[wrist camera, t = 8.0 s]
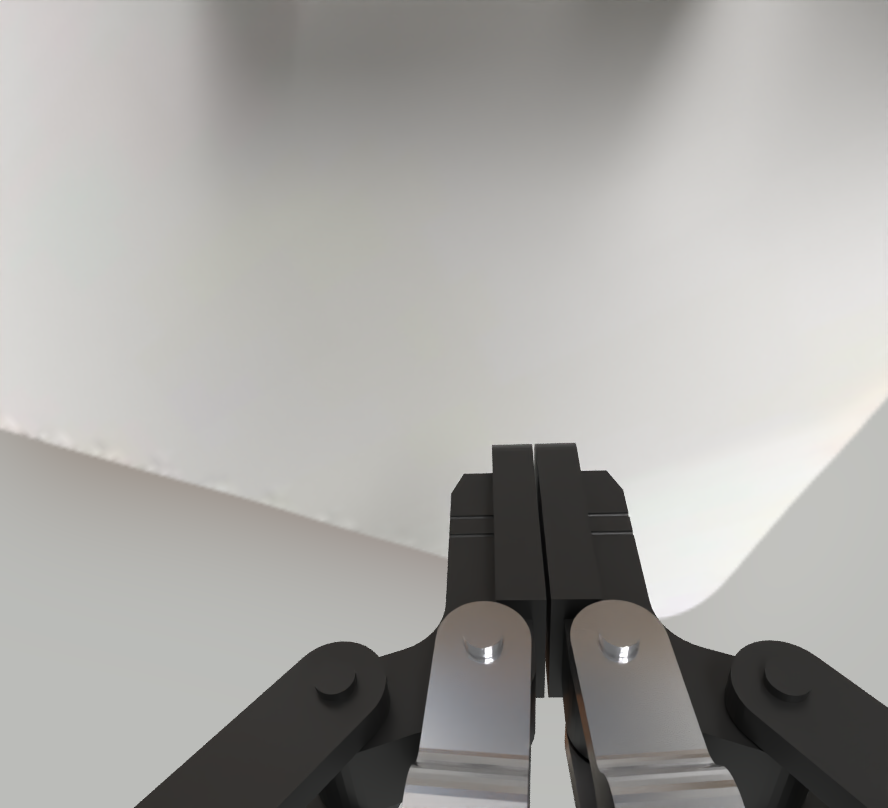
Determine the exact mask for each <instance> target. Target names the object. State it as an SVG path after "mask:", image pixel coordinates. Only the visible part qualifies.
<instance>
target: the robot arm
mask: <svg viewBox="0 0 888 808" xmlns="http://www.w3.org/2000/svg"><path fill="white" fill-rule="evenodd" d="M492 462H493V473H483V474H464V475H463V476H462V478H461V479H460V481H459V482H458V484H457V486H456V487H455V489H454V490H453V492H452V493H451V511H450V532H449V536H450V538H449V552H448V573H447V594H446V608H445V612H444V615H443V618H442V620H441V622H440V624H439V625H438V627H437V628H436V629H435V630H434V632H433V633H431V635H429V636H428V637H427V638H426V639H424V640H423V641H422V642H420V643H418V644H416V645H415V646H412V647H409V648H407V649H404V650H401V651H397V652H394V653H391V654H388V655H384V656H381V657H378V655H377V654H376V653H375V652H373V651H372V650H371V649H369V648H367V647H366V646H364V645H361V644H358V643H354V642H334V643H330V644H326V645H323V646H321V647H319V648H317V649H315V650H313V651H311V652H310V653H309V654H307V655H306V656H305V657H303V658H302V659H301V660H300V661H299V662H298V663H297V664H296V665H294V666H293V667H292V668H291V669H290V670H289V671H288V672H287V673H285V674H284V675H283V676H282V677H281V678H280V679H279V680H277V681H276V682H275V683H274V684H273V685H272V686H271V687H270V688H269V689H267V690H266V691H265V692H264V693H263V694H262V695H260V696H259V697H258V698H257V699H256V700H255V701H254V702H253V703H252V704H250V705H249V706H248V707H247V708H246V709H245V710H244V711H242V712H241V713H240V714H239V715H238V716H237V717H236V718H235V719H233V720H232V721H231V722H230V723H229V724H228V725H227V726H226V727H224V728H223V729H222V730H221V731H220V732H219V733H218V734H217V735H216V736H214V737H213V738H212V739H211V740H210V741H209V742H207V743H206V744H205V745H204V746H203V747H202V748H201V749H200V750H198V751H197V752H196V753H195V754H194V755H193V756H192V757H191V758H189V759H188V760H187V761H186V762H185V763H184V764H183V765H182V766H180V767H179V768H178V769H177V770H176V771H175V772H174V773H173V774H171V775H170V776H169V777H168V778H167V779H166V780H165V781H164V782H162V783H161V784H160V785H159V786H158V787H157V788H156V789H155V790H153V791H152V792H151V793H150V794H149V795H148V796H147V797H145V798H144V799H143V800H142V801H141V802H140V803H139V804H138V805H137V806H136V807H134V808H398V807H399V805H400V803H402V802H403V803H402V808H530V767H531V764H530V763H531V744H532V742H533V740H534V735H535V701H536V698H544V685H545V662H546V673H547V685H548V697H563V702H564V713H565V722H566V724H565V750H566V756H567V761H568V767H569V772H570V778H571V784H572V789H573V795H574V801H575V806H576V808H888V707H886V706H885V705H883V704H882V703H881V702H879V701H878V700H876V699H875V698H874V697H872V696H871V695H869V694H868V693H867V692H865V691H864V690H862V689H861V688H860V687H858V686H857V685H855V684H854V683H853V682H851V681H850V680H849V679H847V678H846V677H844V676H843V675H841V674H840V673H839V672H837V671H836V670H834V669H833V668H832V667H830V666H829V665H828V664H826V663H825V662H823V661H822V660H821V659H819V658H818V657H816V656H815V655H813V654H811V653H810V652H808V651H807V650H805V649H802V648H801V647H798V646H796V645H793V644H790V643H786V642H781V641H770V640H769V641H759V642H754V643H752V644H749V645H747V646H745V647H744V648H742V649H741V650H740V651H739V652H738V653H737V654H736V656H732V655H728V654H725V653H721V652H718V651H714V650H710V649H706V648H703V647H699V646H697V645H693V644H691V643H689V642H687V641H684V640H683V639H681V638H679V637H677V636H676V635H674V634H673V633H672V632H670V631H669V630H668V629H667V628H666V627H665V626H664V625H663V624H662V623H661V622H660V621H659V619H658V618H657V617H656V615H655V613H654V611H653V610H652V607H651V604H650V601H649V597H648V593H647V588H646V584H645V580H644V576H643V572H642V568H641V563H640V559H639V555H638V551H637V547H636V542H635V538H634V535H633V530H632V526H631V521H630V517H629V516H628V509H627V505H626V501H625V496H624V492H623V489H622V488H621V487H620V486H619V485H618V484H617V482H616V481H615V480H614V479H613V478H612V477H611V475H610V474H609V473H608V472H607V471H581V470H580V464H579V458H578V453H577V447H576V444H575V443H550V444H535V448H534V461H533V450H532V444H518V445H492Z"/></svg>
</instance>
